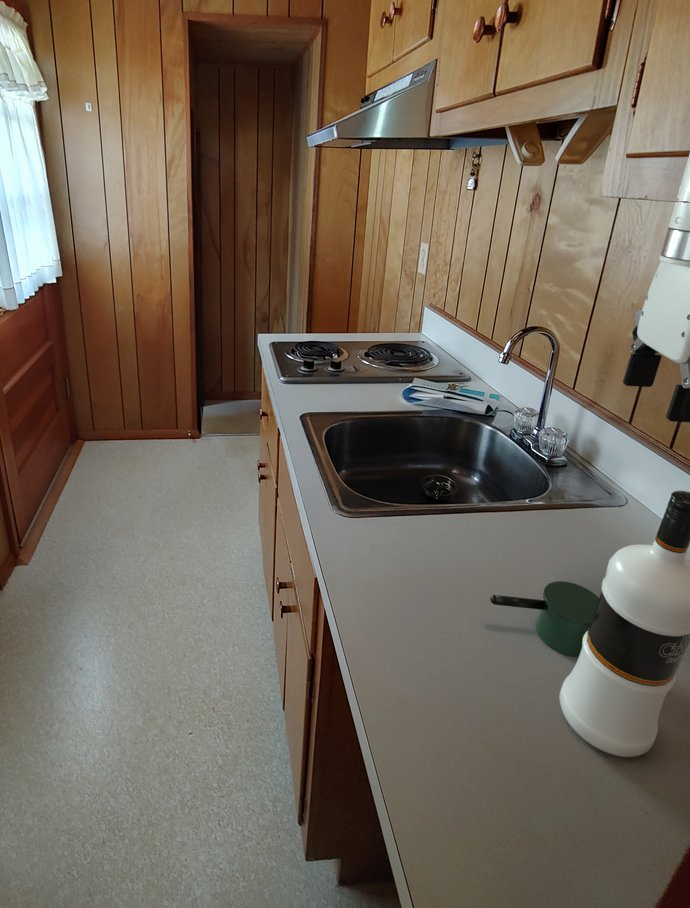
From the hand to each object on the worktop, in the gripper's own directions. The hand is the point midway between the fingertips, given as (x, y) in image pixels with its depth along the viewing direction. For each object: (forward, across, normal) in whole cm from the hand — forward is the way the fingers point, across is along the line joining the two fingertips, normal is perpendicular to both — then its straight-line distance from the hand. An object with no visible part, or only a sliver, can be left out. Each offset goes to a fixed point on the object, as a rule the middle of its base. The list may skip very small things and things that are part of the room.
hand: (658, 401), depth 63 cm
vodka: (+33, -16, +5) cm, 37 cm away
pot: (+33, -4, +8) cm, 34 cm away
